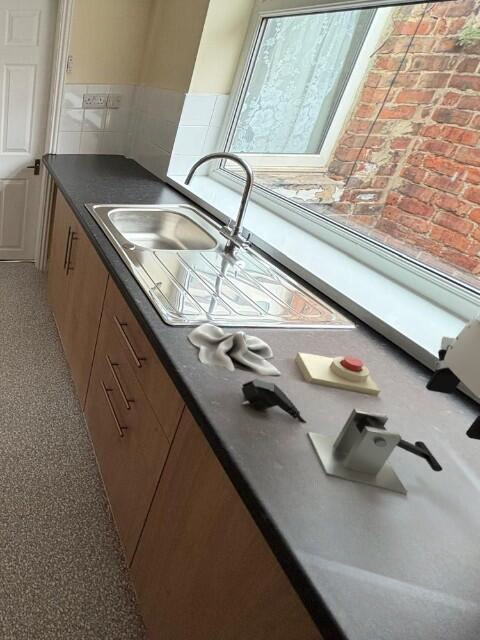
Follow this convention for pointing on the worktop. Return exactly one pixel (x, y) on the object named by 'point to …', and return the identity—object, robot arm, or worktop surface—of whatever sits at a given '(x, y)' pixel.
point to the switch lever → (405, 444)
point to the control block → (335, 374)
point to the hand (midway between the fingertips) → (457, 413)
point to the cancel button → (352, 363)
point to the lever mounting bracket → (360, 452)
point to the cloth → (232, 350)
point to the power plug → (268, 397)
